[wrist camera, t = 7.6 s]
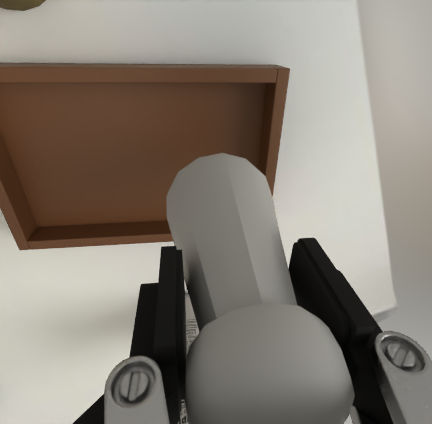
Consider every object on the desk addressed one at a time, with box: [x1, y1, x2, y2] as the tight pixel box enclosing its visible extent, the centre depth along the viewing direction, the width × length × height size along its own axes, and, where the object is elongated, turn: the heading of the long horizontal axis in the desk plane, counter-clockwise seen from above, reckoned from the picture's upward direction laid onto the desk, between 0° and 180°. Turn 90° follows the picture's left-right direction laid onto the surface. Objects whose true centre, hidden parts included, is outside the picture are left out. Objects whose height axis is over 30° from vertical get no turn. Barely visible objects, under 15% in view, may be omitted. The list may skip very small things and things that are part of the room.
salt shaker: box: [167, 153, 355, 424], centre depth 12 cm, size 6×6×13 cm
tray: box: [0, 63, 290, 250], centre depth 20 cm, size 20×13×3 cm, turn 89°
